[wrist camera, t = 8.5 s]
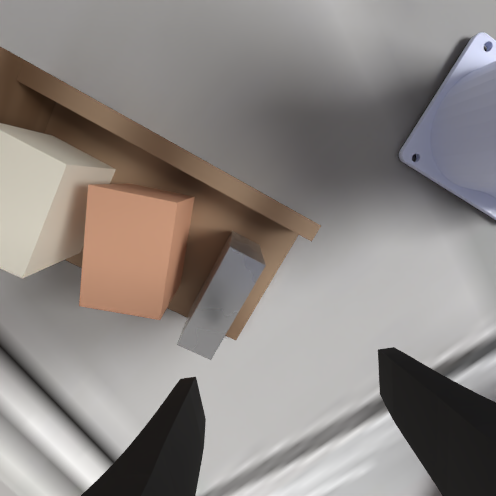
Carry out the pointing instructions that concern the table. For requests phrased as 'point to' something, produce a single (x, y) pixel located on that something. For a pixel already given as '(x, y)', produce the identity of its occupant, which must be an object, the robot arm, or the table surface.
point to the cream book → (43, 199)
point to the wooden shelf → (156, 178)
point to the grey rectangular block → (222, 295)
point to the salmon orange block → (133, 248)
